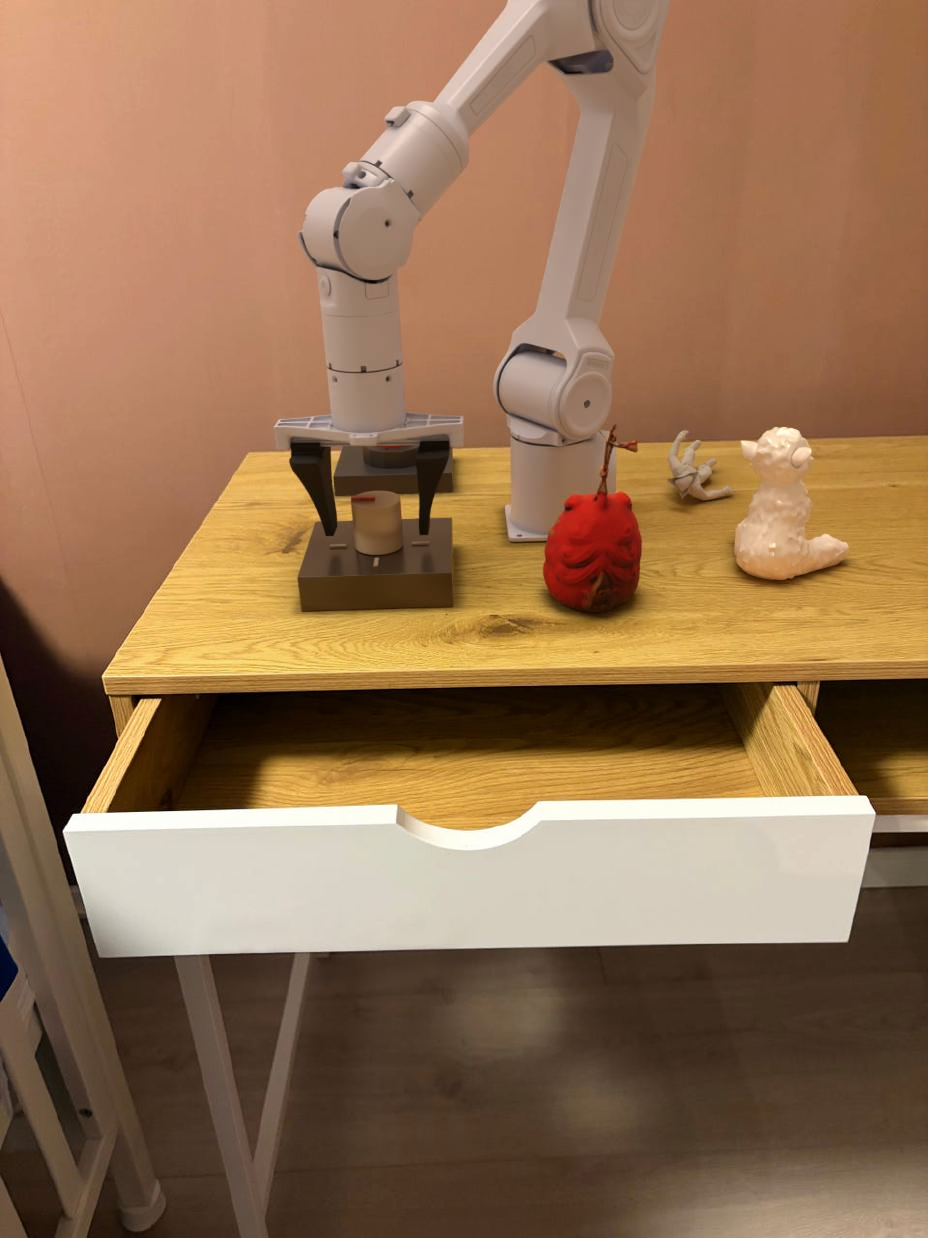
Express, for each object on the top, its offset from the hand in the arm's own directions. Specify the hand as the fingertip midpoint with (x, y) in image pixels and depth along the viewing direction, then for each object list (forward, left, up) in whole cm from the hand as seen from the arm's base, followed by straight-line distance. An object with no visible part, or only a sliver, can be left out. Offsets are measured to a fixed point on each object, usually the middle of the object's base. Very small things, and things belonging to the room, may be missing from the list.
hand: (378, 530), depth 77 cm
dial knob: (0, 0, -1) cm, 1 cm away
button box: (0, -24, -4) cm, 24 cm away
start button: (0, -24, -1) cm, 24 cm away
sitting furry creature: (-33, 0, -4) cm, 33 cm away
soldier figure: (-30, -18, -4) cm, 35 cm away
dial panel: (0, 0, -4) cm, 4 cm away
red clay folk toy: (-17, +5, -4) cm, 18 cm away
